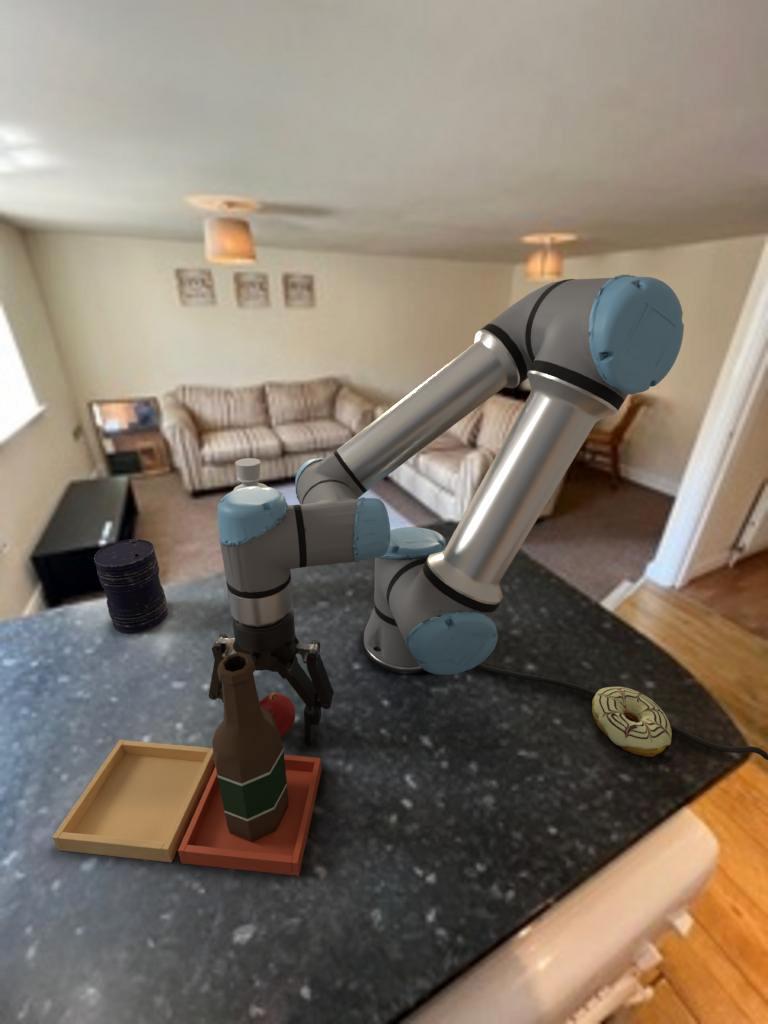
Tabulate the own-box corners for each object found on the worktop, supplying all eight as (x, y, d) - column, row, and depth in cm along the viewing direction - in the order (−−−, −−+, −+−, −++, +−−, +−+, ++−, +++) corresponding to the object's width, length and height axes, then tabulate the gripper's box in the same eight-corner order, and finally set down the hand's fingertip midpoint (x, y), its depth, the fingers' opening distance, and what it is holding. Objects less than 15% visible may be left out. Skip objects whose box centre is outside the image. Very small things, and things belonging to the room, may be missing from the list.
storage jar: (100, 626, 85) (75, 544, 78) (141, 597, 94) (122, 521, 86) (140, 640, 82) (118, 555, 75) (179, 609, 91) (163, 530, 83)
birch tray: (217, 760, 61) (215, 748, 60) (171, 862, 50) (167, 849, 49) (123, 751, 62) (119, 739, 61) (58, 850, 51) (51, 837, 50)
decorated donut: (612, 762, 63) (618, 744, 61) (577, 700, 72) (582, 683, 71) (682, 758, 64) (691, 740, 62) (638, 698, 73) (644, 681, 72)
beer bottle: (232, 781, 58) (206, 637, 48) (292, 778, 59) (279, 634, 49) (217, 847, 51) (182, 695, 41) (285, 842, 52) (269, 691, 42)
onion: (287, 756, 62) (283, 715, 59) (248, 747, 63) (242, 707, 60) (302, 721, 67) (299, 682, 64) (266, 714, 68) (262, 675, 65)
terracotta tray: (321, 770, 61) (321, 757, 59) (298, 876, 49) (297, 863, 48) (225, 761, 61) (223, 748, 60) (181, 863, 50) (177, 850, 49)
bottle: (231, 604, 93) (212, 467, 80) (252, 580, 101) (237, 452, 88) (272, 611, 91) (259, 472, 78) (290, 586, 99) (281, 457, 86)
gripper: (355, 597, 58) (355, 718, 68) (190, 585, 60) (212, 706, 69) (346, 636, 52) (347, 764, 61) (160, 622, 53) (190, 750, 62)
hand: (276, 733), depth 65 cm, fingers open, 10 cm apart
